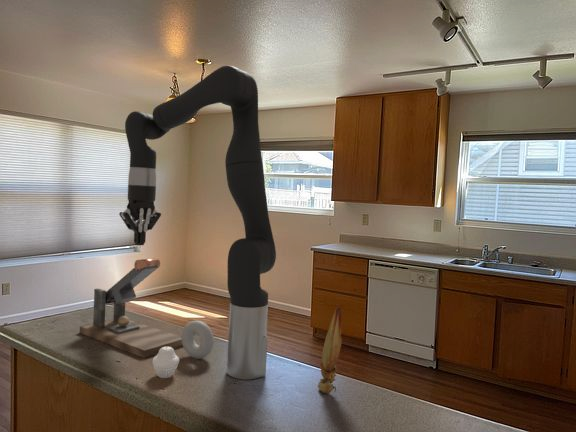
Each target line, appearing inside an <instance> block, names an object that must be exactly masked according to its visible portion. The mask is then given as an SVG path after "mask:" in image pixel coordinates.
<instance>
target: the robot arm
mask: <svg viewBox="0 0 576 432" xmlns="http://www.w3.org/2000/svg"><path fill="white" fill-rule="evenodd" d="M258 91H259V90H258V85H257V81H256V80H255V78H254V77H253V76H252V75H251V74H250V73H249V72H247V71H244V70H242V69H240V68H237V67H236V66H232V65H223V66H220V67H219V68H217V69H214V71H212V72H211V73H210V74H208V75H207V76H205V77H204V78H202V80H200V81H198V82H197V83H196V84H194V85H193V86H191V88H189V89H187V90H186V91H184V92H182V93H181V94H179V95H177V96H175V97H173V98H171V99H168V100H166V101H164V102H162V103H159V105H157V106H155V108H154V109H153V111H152V114H150V113H147V112H142V111H132V112H130V113H129V114H128V115H127V117H126V119H125V122H124V123H125V124H124V126H125V127H124V130H125V134H126V136H125V137H126V140H127V144H128V148H129V153H130V154H129V155H130V157H129V158H130V160H129V170H128V181H127V184H128V185H127V201H128V203H127V205H126V209H125V210H124V211H120V212H119V217H120V218H121V220H122V221H123V224H125V226H126V227H127V229H128V230H130V231H133V232H134V234H133V236H134V237H133V242H134V243H133V244H134V245H135V246H144V245H145V243H146V236H147V232H148V231H149V230H152V229H153V228H154V227H155V225H156V224H157V222H158V221H159V219H160V218H161V216H162V213H161V212H158V211H157V210H156V206H155V201H156V198H157V197H156V194H157V192H156V191H157V167H156V166H157V152H156V150H155V149H154V148H152V147H150V146H149V145H148V143H147V140H150V141H152V140H153V141H155V140H158V139H161V138H162V137H164V136H165V135H166V134H168V133H169V131H171V129H175V128H176V127H179V126H181V125H184V124H186V123H187V122H190V121H191V120H192V119H193V118H194V117H195V116H196V114H197V113H198V111H200V110H201V109H203V108H205V107H207V106H211V105H215V104H223V105H226V106H228V107H230V109H231V115H232V116H231V117H232V123H233V129H232V130H233V131H232V136H231V139H230V142H229V145H228V147H227V149H226V150H227V151H226V154H225V161H224V163H225V172H226V173H225V174H226V182H227V188H228V190H229V193H230V195H231V197H232V199H233V200H234V202H235V204H236V206H237V207H238V210H239V212H240V214H241V216H242V221H243V225H244V233H245V237H244V238H239V239H236V240H235V241H234V242H233V243H232V244H231V245H230V247H229V250H228V253H227V254H228V255H227V291H228V294H229V297H230V300H229V317H228V318H229V319H228V338H227V339H228V340H227V354H226V355H227V359H226V361H227V362H226V373H227V375H228V376H230V377H231V378H233V379H238V380H254V379H257V378H261V377H262V378H263V377H266V376H267V375H266V374H267V357H268V356H267V355H268V341H269V340H268V339H269V338H268V335H267V328H268V309H269V307H268V306H269V292H267V290H264V289H263V288H262V287H261V275H262V274H266V273H268V272H270V271H271V270H273V267H275V263H276V260H277V250H276V244H275V240H274V236H273V230H272V227H271V221H270V218H269V217H270V216H269V208H268V201H267V192H266V184H265V183H266V181H265V172H264V171H265V170H264V162H263V157H262V148H261V138H260V137H261V136H260V127H259V92H258Z"/></svg>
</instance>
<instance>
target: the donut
mask: <svg viewBox="0 0 576 432" xmlns="http://www.w3.org/2000/svg"><path fill="white" fill-rule="evenodd" d="M195 334H196V335H198V336H199V338H200V345H199V344H197V342H196V340H195ZM214 337H215V336H214V333H213V331H212V329H211V327H210V326H209V325H208V324H207V323H206V322H204V321H201V320H192V321H189V322H188V323H187V324H185V325H184V327H183V330H182V331H181V338H182V344H183V346H182V348H183V349H184V351H185V353H186V354H188V356H190V357H191V358H193V359H197V360H201V359H204V358H207V357H208V356H209V355H210V354H211V353H212V351H213V349H214V344H215V338H214Z"/></svg>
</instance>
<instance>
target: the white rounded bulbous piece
mask: <svg viewBox="0 0 576 432" xmlns="http://www.w3.org/2000/svg"><path fill="white" fill-rule="evenodd" d="M179 363H180V358H179V356H178V355H176V353H175V348H174V349H173V348H172V347H167V346H166V347H162V348H161V349H160V350H159V353H158V354H156V355H154V357H153V359H152V366H153V368H154V371H155V372H156V374H157V377H159V378H161V379H168V378H171V377H173V375H174V373H175V371H176V370H177V368H178V365H179Z"/></svg>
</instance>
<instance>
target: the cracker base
mask: <svg viewBox="0 0 576 432" xmlns="http://www.w3.org/2000/svg"><path fill="white" fill-rule="evenodd" d="M93 292H94V294H93V315H92V316H93V318H92V319H93V322H92V323H88V324H84V325H80V326H79V334H82V335H85V336H87V337H89V338H92V339H94V340H97V341H99V340H100V342H103V343H104V342H105V344H108V345H110V346H113V347H115V348H117V349H120V350H123V351H126V352H128V353H130V354H133V355H135V356H138V357H140V358H143V359H145V358H148V357H151V356H152V357H153V356H156V355H157V354H158V353H159V350H160V349H161V348H162V347H166V346H167V347H172V348H173V349H174V350H175V349H178V348H181V347H183V344H182V338H181V337H182V335H181V336H180V335H177V334H174V333H171V332H168V331H165V330H162V329H159V328H156V327H153V326H149V325H147V324H143V323H141V322H138V321H137V322H136V321H134V320H131V319H130V318H129V317H128V316H126V302H124V303H119V304H116V302H115V303H113V318H111V319H106V305H107V304H106V292H107V290H104V289H102V288H94V290H93Z"/></svg>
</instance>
